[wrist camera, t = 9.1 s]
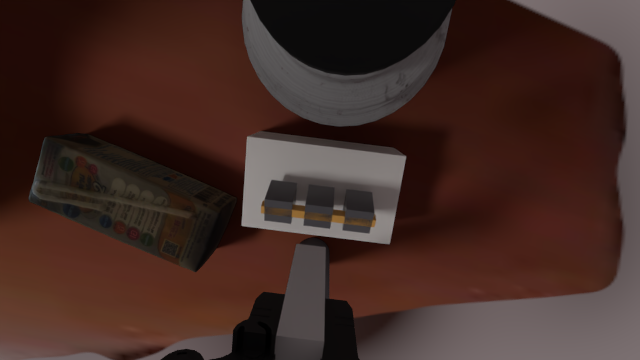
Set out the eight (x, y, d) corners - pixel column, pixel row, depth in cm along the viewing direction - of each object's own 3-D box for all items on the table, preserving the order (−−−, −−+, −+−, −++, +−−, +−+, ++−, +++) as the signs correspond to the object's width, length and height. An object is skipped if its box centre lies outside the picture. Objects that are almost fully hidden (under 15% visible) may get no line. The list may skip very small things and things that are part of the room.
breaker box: (255, 206, 38) (241, 225, 32) (261, 131, 35) (247, 136, 30) (380, 222, 37) (389, 244, 32) (393, 147, 35) (406, 156, 30)
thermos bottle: (377, 106, 34) (554, 115, 7) (305, 117, 35) (214, 167, 8) (368, 27, 33) (560, -361, 5) (292, 41, 33) (114, -249, 6)
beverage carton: (87, 127, 36) (34, 132, 30) (242, 195, 38) (224, 213, 31) (70, 188, 38) (18, 205, 32) (219, 250, 39) (198, 279, 33)
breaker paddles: (268, 199, 31) (261, 220, 28) (268, 179, 29) (260, 198, 27) (370, 212, 31) (372, 234, 28) (375, 192, 29) (378, 213, 27)
